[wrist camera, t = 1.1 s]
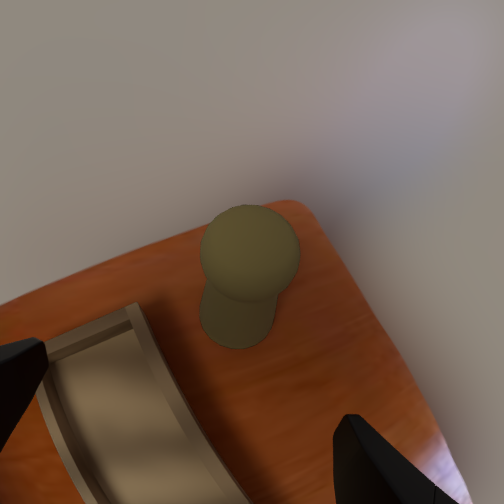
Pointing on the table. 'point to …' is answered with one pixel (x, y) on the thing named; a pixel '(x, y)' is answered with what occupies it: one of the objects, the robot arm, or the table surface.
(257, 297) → the olive pawn figure
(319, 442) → the table surface
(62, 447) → the track
